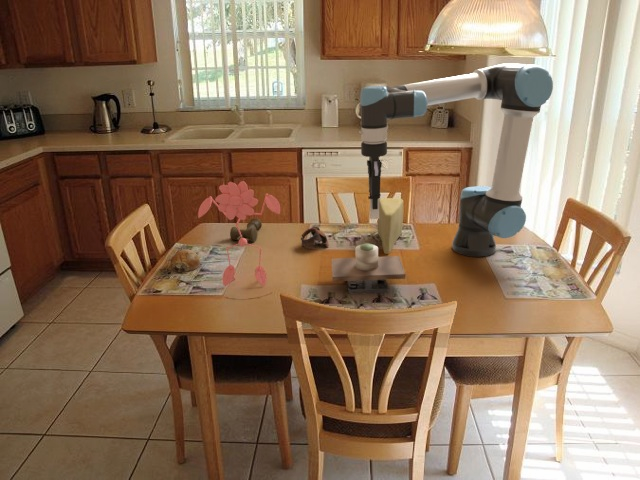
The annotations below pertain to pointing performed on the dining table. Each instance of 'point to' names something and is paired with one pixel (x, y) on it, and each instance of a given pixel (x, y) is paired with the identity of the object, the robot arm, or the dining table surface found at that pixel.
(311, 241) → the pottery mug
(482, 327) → the dining table surface
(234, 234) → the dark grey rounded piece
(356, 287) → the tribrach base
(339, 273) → the panel with push button
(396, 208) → the cheese
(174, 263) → the bread roll
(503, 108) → the robot arm
